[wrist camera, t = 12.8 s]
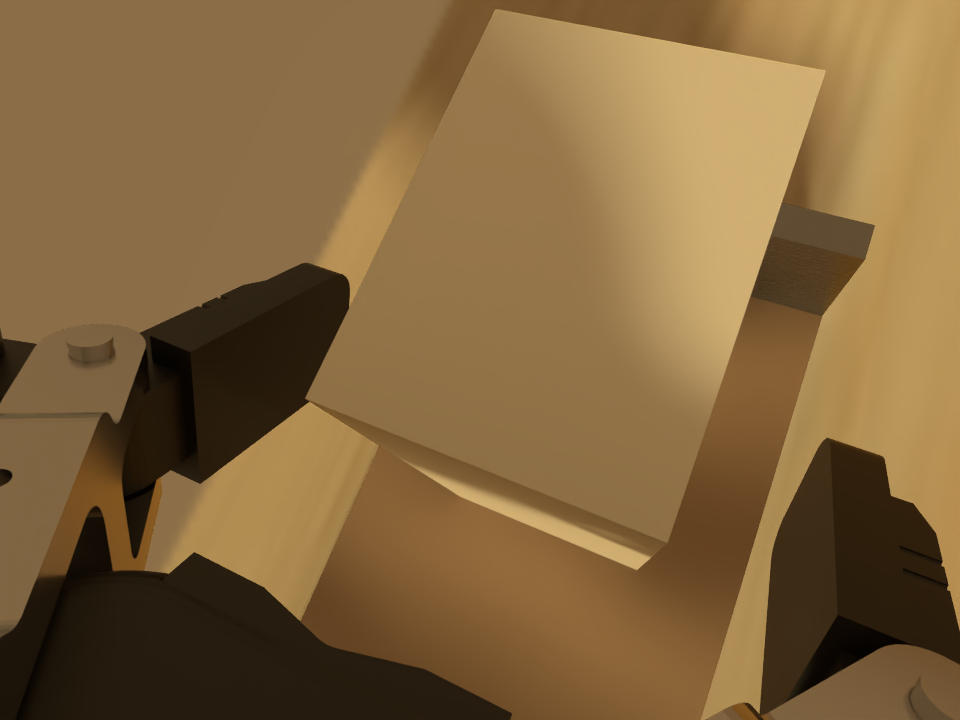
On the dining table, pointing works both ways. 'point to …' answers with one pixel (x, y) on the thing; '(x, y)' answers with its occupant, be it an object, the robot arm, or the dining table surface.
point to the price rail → (810, 258)
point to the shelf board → (570, 568)
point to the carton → (572, 276)
